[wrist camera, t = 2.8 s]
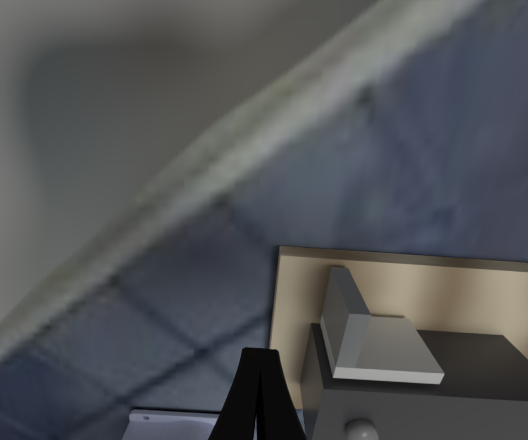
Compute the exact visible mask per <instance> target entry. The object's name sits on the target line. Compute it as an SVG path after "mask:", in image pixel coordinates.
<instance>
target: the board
mask: <svg viewBox="0 0 528 440" xmlns="http://www.w3.org/2000/svg"><path fill="white" fill-rule="evenodd" d="M331 267H340V268H348V269H349V271H350V273H351V275H352V277H353V279H354V281H355V283H356V285H357V287H358V289H359V291H360V293H361V295H362V297H363V299H364V301H365V303H366V306H367V308H368V310H369V312H370V314H371V316H373V317H389V318H404V319H409V320H410V321H411V323H412V325H413V326H414V328H415V329H416V330H431V331H446V332H462V333H478V334H493V335H504V336H505V337H506V338H507V339H508V340H509V341H510V342H511V343H512V344H513V345H514V346H515V347H516V348H517V349H518V350H519V351H520V352H521V353H522V354H523V355H524V356H525V357H526V358H527V359H528V263H527V262H512V261H497V260H483V259H468V258H453V257H438V256H424V255H409V254H394V253H380V252H365V251H350V250H336V249H321V248H306V247H292V246H280V248H279V257H278V267H277V276H276V285H275V295H274V304H273V314H272V323H271V333H270V342H269V349H277V350H278V351H279V355H280V360H281V365H282V369H283V373H284V377H285V380H286V383H287V387H288V390H289V393H290V396H291V399H292V402H293V404H294V407H295V408H296V409H303V407H302V398H301V389H300V380H301V374H302V369H303V363H304V358H305V352H306V347H307V341H308V336H309V331H310V325H311V323H320V320H321V315H322V310H323V305H324V300H325V295H326V290H327V285H328V280H329V276H330V271H331Z"/></svg>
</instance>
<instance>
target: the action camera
mask: <svg viewBox="0 0 528 440" xmlns="http://www.w3.org/2000/svg"><path fill="white" fill-rule="evenodd" d="M416 331H417V332H418V334H419V335H420V337H421V338H422V340H423V341H424V343H425V344H426V346H427V347H428V349H429V350H430V352H431V354H432V355H433V357H434V358H435V360H436V361H437V363H438V364H439V366H440V367H441V369H442V370H443V372H444V373H445V374H444V376H443V378H442V380H441V382H440V384H428V383H411V382H395V381H378V380H362V379H345V378H333V375H332V371H331V367H330V363H329V359H328V354H327V350H326V346H325V342H324V338H323V333H322V329H321V325H320V323H311V325H310V331H309V336H308V341H307V347H306V352H305V358H304V363H303V369H302V374H301V380H300V389H301V398H302V407H303V416H304V425H305V433H306V438H307V440H528V359H527V358H526V357H525V356H524V355H523V354H522V353H521V352H520V351H519V350H518V349H517V348H516V347H515V346H514V345H513V344H512V343H511V342H510V341H509V340H508V339H507V338H506V337H505V336H504V335H493V334H478V333H462V332H446V331H431V330H416Z"/></svg>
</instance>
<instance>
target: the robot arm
mask: <svg viewBox="0 0 528 440" xmlns="http://www.w3.org/2000/svg"><path fill="white" fill-rule="evenodd" d="M129 419H130V422H129V424H128V427H127V429H126V431H125V434H124V436H123V438H122V440H253V437H254V429H255V420H256V422H257V440H307V438H306V436H305V433H304V431H303V428H302V426H301V423H300V421H299V418H298V416H297V413H296V410H295V407H294V404H293V402H292V399H291V396H290V393H289V390H288V387H287V383H286V380H285V377H284V373H283V369H282V365H281V360H280V355H279V351H278V350H277V349H264V348H248V347H245V348H243V349H242V353H241V358H240V362H239V366H238V369H237V372H236V375H235V378H234V381H233V383H232V386H231V388H230V391H229V393H228V396H227V398H226V401H225V403H224V406H223V408H222V410H221V412H220V414H205V413H188V412H171V411H154V410H137V409H135V410H132V411H131V412H130V414H129Z"/></svg>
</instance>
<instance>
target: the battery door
mask: <svg viewBox="0 0 528 440" xmlns="http://www.w3.org/2000/svg"><path fill="white" fill-rule="evenodd" d="M320 325H321V329H322V333H323V338H324V342H325V346H326V350H327V354H328V359H329V363H330V367H331V371H332V375H333V378H345V379H362V380H378V381H395V382H411V383H428V384H440V382H441V380H442V378H443V376H444V374H445V373H444V372H443V370H442V369H441V367H440V366H439V364H438V363H437V361H436V360H435V358H434V357H433V355H432V354H431V352H430V350H429V349H428V347H427V346H426V344H425V343H424V341H423V340H422V338H421V337H420V335H419V334H418V332H417V331H416V329H415V328H414V326H413V325H412V323H411V321H410V320H409V319H404V318H389V317H373V316H371V314H370V312H369V310H368V308H367V306H366V303H365V301H364V299H363V297H362V295H361V293H360V291H359V289H358V287H357V285H356V283H355V281H354V279H353V277H352V275H351V273H350V271H349V269H348V268H340V267H331V271H330V276H329V280H328V285H327V290H326V295H325V300H324V305H323V310H322V315H321V320H320Z"/></svg>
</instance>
